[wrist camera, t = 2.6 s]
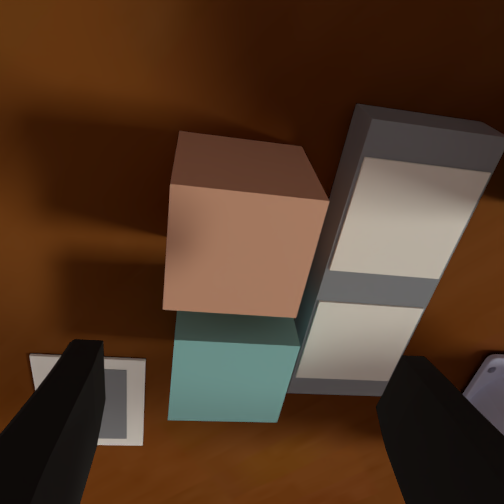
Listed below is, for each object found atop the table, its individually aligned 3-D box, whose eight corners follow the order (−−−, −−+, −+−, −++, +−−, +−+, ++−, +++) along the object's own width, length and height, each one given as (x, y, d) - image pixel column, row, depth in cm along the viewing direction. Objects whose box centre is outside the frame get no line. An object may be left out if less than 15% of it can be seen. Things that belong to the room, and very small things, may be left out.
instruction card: (142, 443, 28) (142, 446, 28) (45, 441, 27) (44, 445, 27) (145, 358, 24) (145, 362, 24) (30, 353, 23) (28, 357, 23)
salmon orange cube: (278, 246, 20) (296, 317, 16) (172, 236, 20) (162, 309, 16) (301, 145, 18) (329, 201, 14) (179, 130, 17) (170, 183, 13)
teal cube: (265, 343, 24) (276, 422, 20) (174, 339, 23) (167, 420, 19) (282, 272, 21) (300, 346, 17) (181, 264, 21) (174, 340, 16)
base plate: (370, 368, 26) (382, 397, 24) (281, 364, 25) (287, 394, 23) (482, 121, 18) (512, 139, 16) (356, 103, 17) (373, 119, 15)
